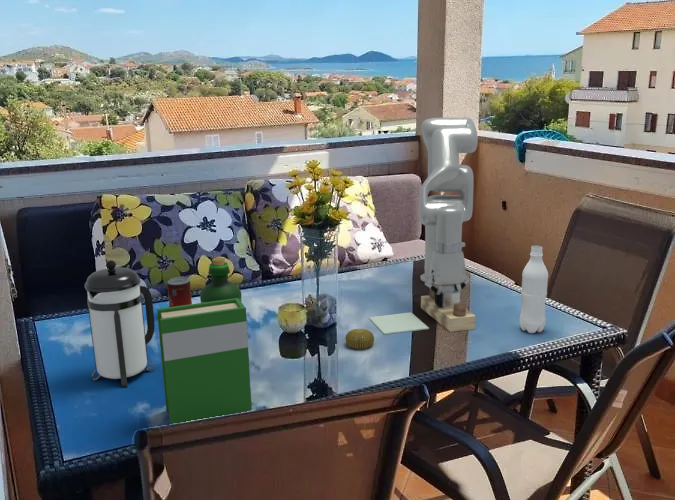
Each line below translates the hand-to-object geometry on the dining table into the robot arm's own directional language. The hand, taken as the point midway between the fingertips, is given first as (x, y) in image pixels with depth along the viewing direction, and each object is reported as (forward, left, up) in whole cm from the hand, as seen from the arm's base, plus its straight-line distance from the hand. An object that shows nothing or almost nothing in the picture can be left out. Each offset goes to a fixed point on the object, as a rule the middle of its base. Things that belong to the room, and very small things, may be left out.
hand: (447, 304), depth 192 cm
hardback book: (+37, -75, -5) cm, 84 cm away
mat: (0, -16, -4) cm, 17 cm away
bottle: (+12, -69, -5) cm, 70 cm away
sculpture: (+12, -32, -5) cm, 35 cm away
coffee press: (+11, -94, -5) cm, 95 cm away
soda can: (-28, -79, -5) cm, 84 cm away
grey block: (0, 0, 0) cm, 0 cm away
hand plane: (0, 0, -4) cm, 4 cm away
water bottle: (+17, +19, -5) cm, 26 cm away
